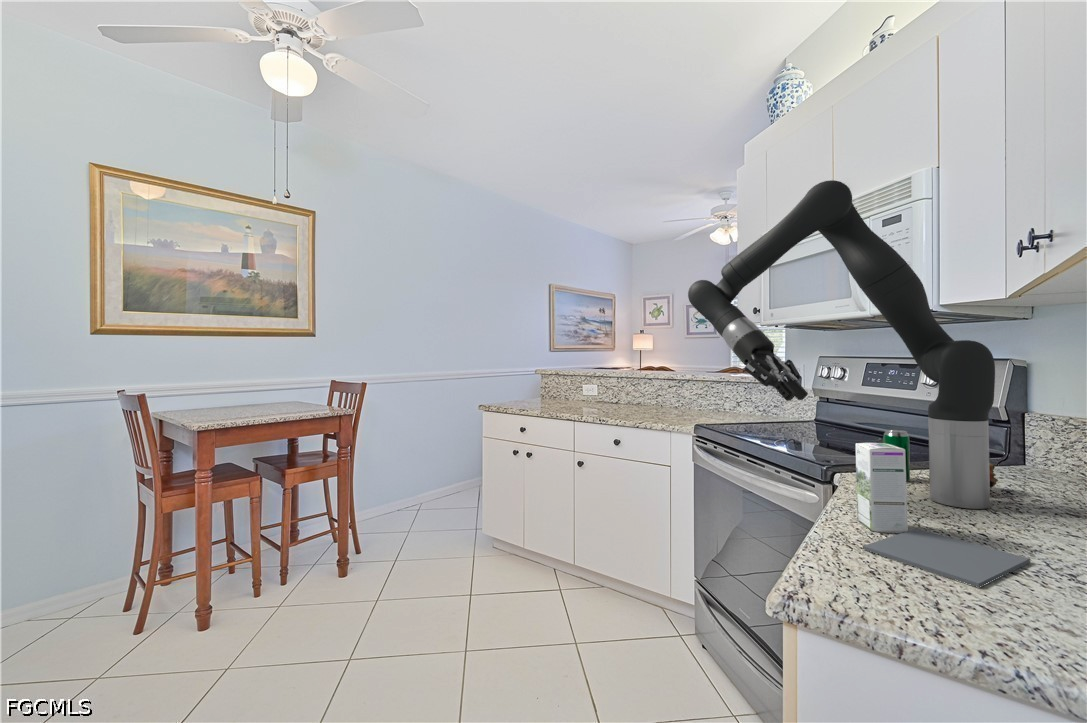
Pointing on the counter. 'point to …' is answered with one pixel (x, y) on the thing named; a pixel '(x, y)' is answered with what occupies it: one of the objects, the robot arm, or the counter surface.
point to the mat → (948, 556)
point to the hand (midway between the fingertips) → (797, 397)
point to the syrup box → (881, 487)
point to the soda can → (899, 445)
